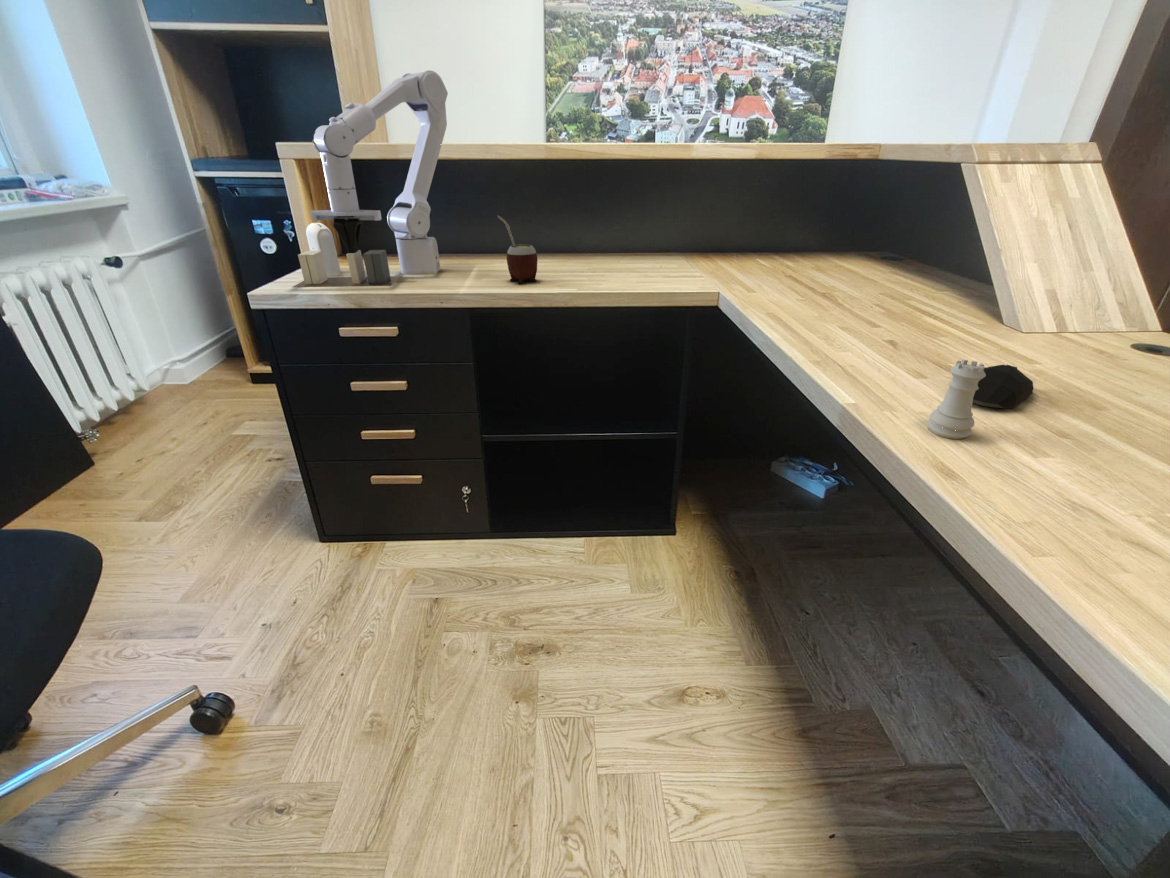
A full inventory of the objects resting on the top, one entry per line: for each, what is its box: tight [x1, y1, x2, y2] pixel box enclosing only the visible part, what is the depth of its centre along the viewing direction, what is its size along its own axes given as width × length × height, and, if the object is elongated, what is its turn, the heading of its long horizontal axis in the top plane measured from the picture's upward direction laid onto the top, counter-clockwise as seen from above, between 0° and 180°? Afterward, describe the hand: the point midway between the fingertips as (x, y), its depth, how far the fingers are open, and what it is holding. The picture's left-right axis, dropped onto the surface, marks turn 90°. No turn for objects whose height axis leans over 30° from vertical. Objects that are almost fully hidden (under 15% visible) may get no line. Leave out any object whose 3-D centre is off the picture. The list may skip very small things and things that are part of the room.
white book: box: [345, 249, 367, 284], centre depth 127 cm, size 2×5×6 cm, turn 2°
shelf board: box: [292, 275, 403, 288], centre depth 129 cm, size 22×10×1 cm, turn 92°
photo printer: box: [305, 222, 342, 277], centre depth 135 cm, size 10×4×12 cm, turn 39°
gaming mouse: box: [972, 364, 1034, 409], centre depth 71 cm, size 6×15×4 cm, turn 126°
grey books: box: [362, 249, 391, 283], centre depth 127 cm, size 4×5×6 cm
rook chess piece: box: [926, 359, 986, 440], centre depth 60 cm, size 4×4×8 cm
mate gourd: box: [496, 215, 538, 285], centre depth 127 cm, size 8×8×15 cm
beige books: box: [297, 250, 328, 284], centre depth 127 cm, size 3×5×6 cm
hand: (353, 254), depth 126 cm, fingers closed, pressing on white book
